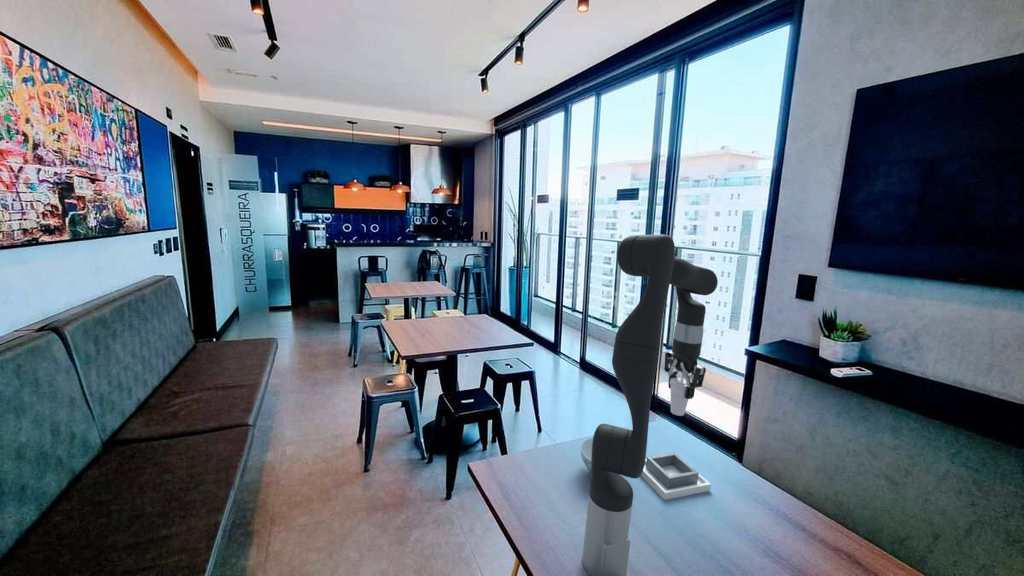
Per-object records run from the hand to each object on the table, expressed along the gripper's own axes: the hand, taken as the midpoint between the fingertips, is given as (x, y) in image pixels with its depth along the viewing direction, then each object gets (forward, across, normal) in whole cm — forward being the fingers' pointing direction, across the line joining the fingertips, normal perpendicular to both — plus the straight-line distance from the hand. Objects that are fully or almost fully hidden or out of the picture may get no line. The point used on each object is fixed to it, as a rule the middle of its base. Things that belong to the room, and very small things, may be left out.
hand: (680, 392), depth 118 cm
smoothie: (+6, 0, 0) cm, 6 cm away
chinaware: (+28, +7, +18) cm, 34 cm away
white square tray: (+28, 0, 0) cm, 28 cm away
